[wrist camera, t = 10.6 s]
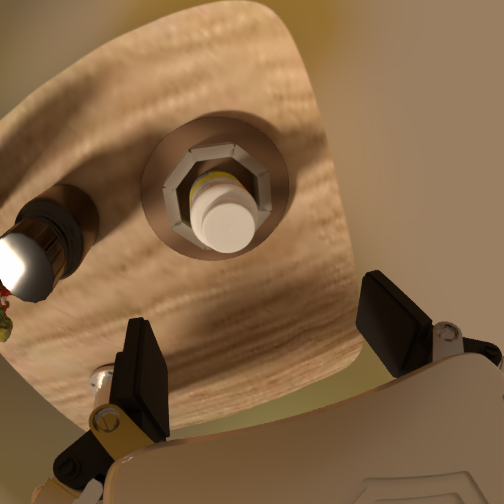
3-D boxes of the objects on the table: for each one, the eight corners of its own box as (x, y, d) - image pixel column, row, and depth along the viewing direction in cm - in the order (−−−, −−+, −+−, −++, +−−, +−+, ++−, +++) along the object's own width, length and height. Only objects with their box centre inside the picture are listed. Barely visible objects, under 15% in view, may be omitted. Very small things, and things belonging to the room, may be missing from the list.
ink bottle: (27, 229, 27) (-22, 278, 17) (50, 167, 25) (-7, 197, 15) (86, 267, 32) (55, 329, 21) (116, 209, 30) (83, 257, 19)
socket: (287, 242, 36) (298, 257, 32) (159, 265, 34) (156, 282, 30) (280, 111, 29) (292, 110, 25) (131, 131, 26) (123, 133, 23)
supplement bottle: (236, 222, 32) (257, 266, 23) (186, 215, 30) (186, 260, 21) (246, 172, 30) (274, 198, 21) (194, 164, 28) (196, 186, 19)
